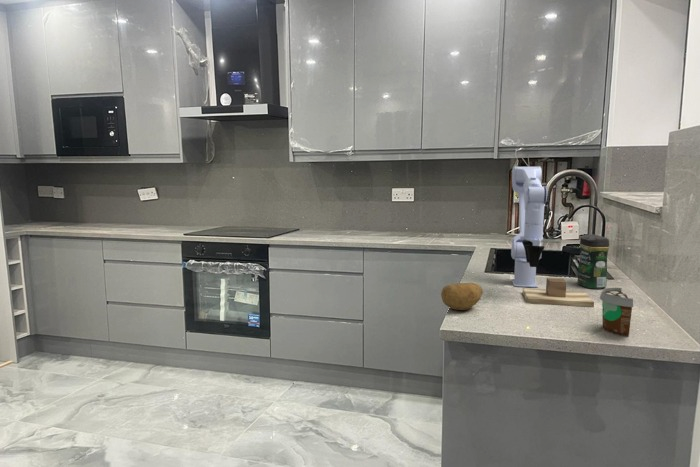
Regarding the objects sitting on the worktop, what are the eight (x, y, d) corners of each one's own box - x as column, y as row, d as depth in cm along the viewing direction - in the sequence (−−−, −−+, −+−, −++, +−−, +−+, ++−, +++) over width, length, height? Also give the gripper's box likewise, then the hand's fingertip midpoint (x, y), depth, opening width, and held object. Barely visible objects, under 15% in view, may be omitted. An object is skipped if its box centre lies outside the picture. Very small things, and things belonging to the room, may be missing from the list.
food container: (593, 321, 132) (595, 285, 131) (618, 323, 130) (621, 287, 129) (602, 335, 120) (605, 297, 119) (630, 338, 119) (633, 299, 117)
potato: (491, 309, 143) (492, 283, 142) (455, 316, 136) (456, 289, 135) (468, 301, 151) (469, 277, 150) (433, 308, 144) (433, 282, 143)
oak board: (522, 292, 162) (522, 288, 162) (583, 296, 158) (583, 291, 158) (527, 303, 150) (527, 298, 149) (593, 307, 145) (594, 302, 145)
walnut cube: (545, 292, 157) (546, 277, 156) (562, 293, 156) (563, 278, 155) (548, 296, 152) (549, 281, 151) (565, 297, 151) (566, 281, 150)
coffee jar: (573, 283, 175) (576, 233, 173) (593, 282, 176) (597, 232, 174) (588, 290, 166) (592, 237, 163) (610, 289, 167) (614, 236, 164)
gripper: (518, 221, 163) (516, 260, 165) (523, 225, 149) (521, 268, 151) (540, 221, 162) (538, 261, 164) (547, 226, 148) (545, 269, 150)
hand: (531, 264), depth 157 cm, fingers open, 7 cm apart
